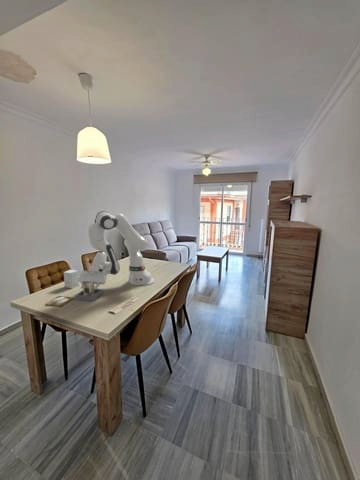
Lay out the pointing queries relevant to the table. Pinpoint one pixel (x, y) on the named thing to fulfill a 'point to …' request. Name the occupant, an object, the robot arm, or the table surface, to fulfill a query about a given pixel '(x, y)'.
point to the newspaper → (124, 304)
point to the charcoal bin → (88, 298)
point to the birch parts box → (88, 288)
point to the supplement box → (71, 278)
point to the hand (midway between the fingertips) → (88, 288)
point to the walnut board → (60, 301)
